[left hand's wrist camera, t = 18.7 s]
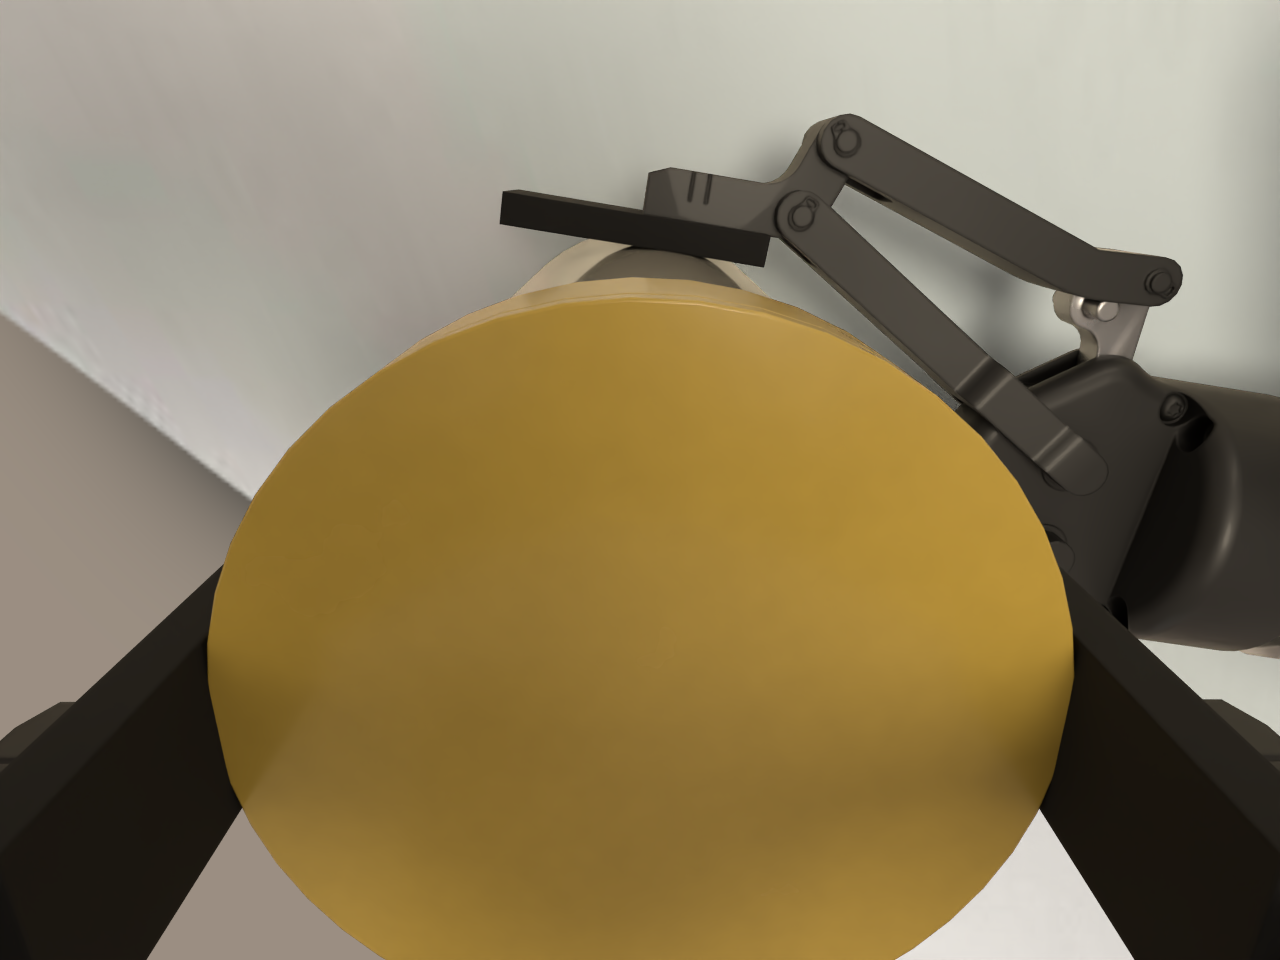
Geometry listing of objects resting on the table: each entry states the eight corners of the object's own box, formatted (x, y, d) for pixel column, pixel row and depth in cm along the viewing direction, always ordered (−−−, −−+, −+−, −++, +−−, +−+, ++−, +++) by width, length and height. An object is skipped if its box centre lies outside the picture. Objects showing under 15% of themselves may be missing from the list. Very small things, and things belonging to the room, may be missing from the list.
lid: (1162, 455, 11) (1260, 507, 9) (812, 991, 15) (836, 1102, 13) (379, 136, 10) (321, 127, 8) (205, 815, 13) (138, 914, 12)
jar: (444, 406, 29) (143, 761, 12) (607, 164, 27) (539, 141, 9) (668, 556, 32) (704, 1051, 14) (841, 347, 29) (1171, 629, 11)
